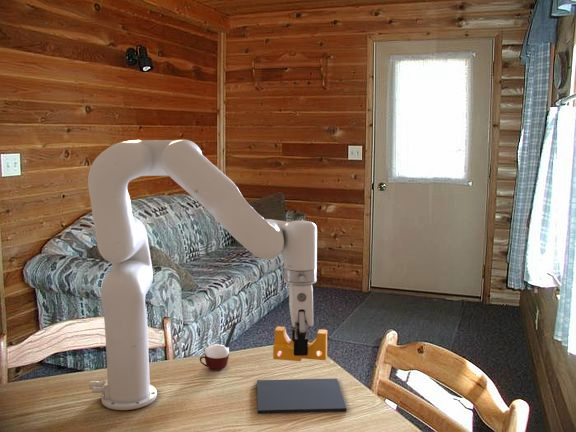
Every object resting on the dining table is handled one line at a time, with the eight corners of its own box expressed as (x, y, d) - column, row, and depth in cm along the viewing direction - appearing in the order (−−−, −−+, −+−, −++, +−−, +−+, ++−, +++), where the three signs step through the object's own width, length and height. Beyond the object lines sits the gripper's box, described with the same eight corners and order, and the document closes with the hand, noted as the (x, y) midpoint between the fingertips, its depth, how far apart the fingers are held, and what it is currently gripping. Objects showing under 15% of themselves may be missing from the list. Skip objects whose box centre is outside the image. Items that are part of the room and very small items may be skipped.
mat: (257, 413, 138) (257, 410, 138) (257, 383, 154) (257, 380, 154) (346, 411, 140) (346, 408, 139) (336, 381, 155) (337, 378, 155)
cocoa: (199, 372, 160) (198, 328, 158) (202, 362, 167) (201, 319, 165) (235, 372, 160) (235, 328, 158) (237, 363, 167) (237, 320, 165)
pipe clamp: (273, 359, 144) (273, 332, 143) (277, 352, 148) (277, 326, 147) (324, 363, 142) (324, 336, 141) (327, 356, 146) (327, 329, 145)
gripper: (320, 284, 134) (319, 364, 137) (312, 265, 151) (312, 337, 154) (285, 285, 133) (285, 365, 136) (282, 266, 150) (282, 337, 153)
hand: (299, 349), depth 145 cm, fingers closed on pipe clamp, 4 cm apart
